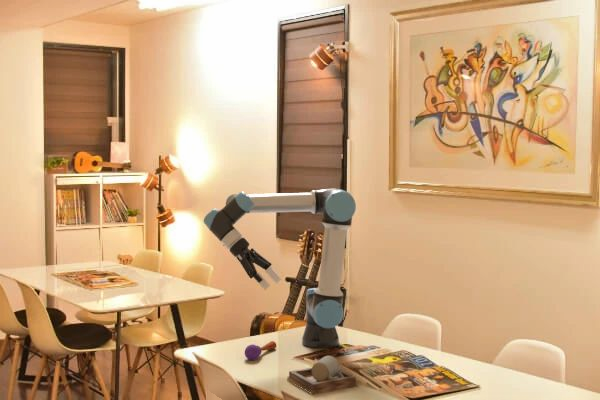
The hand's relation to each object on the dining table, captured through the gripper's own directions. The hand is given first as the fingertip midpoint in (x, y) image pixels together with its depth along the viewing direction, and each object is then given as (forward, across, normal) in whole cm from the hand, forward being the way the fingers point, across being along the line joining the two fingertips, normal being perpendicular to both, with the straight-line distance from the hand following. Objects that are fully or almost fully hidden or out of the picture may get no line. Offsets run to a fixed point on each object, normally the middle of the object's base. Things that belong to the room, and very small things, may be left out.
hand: (273, 284), depth 313 cm
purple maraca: (+16, -7, -27) cm, 32 cm away
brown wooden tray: (+38, +21, -4) cm, 44 cm away
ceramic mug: (+39, +21, -1) cm, 45 cm away
